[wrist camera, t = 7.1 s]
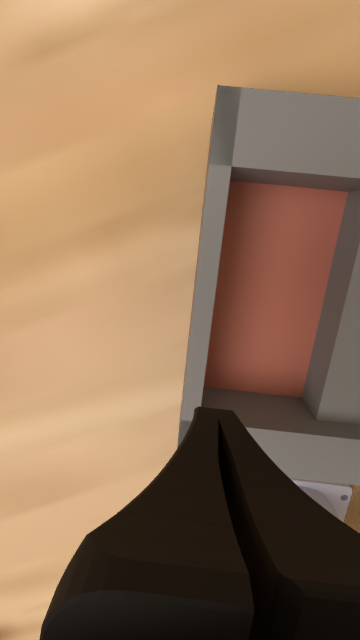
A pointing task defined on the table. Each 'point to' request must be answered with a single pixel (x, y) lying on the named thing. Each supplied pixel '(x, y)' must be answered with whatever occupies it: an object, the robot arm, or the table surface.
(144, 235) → the table surface
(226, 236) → the trap track
